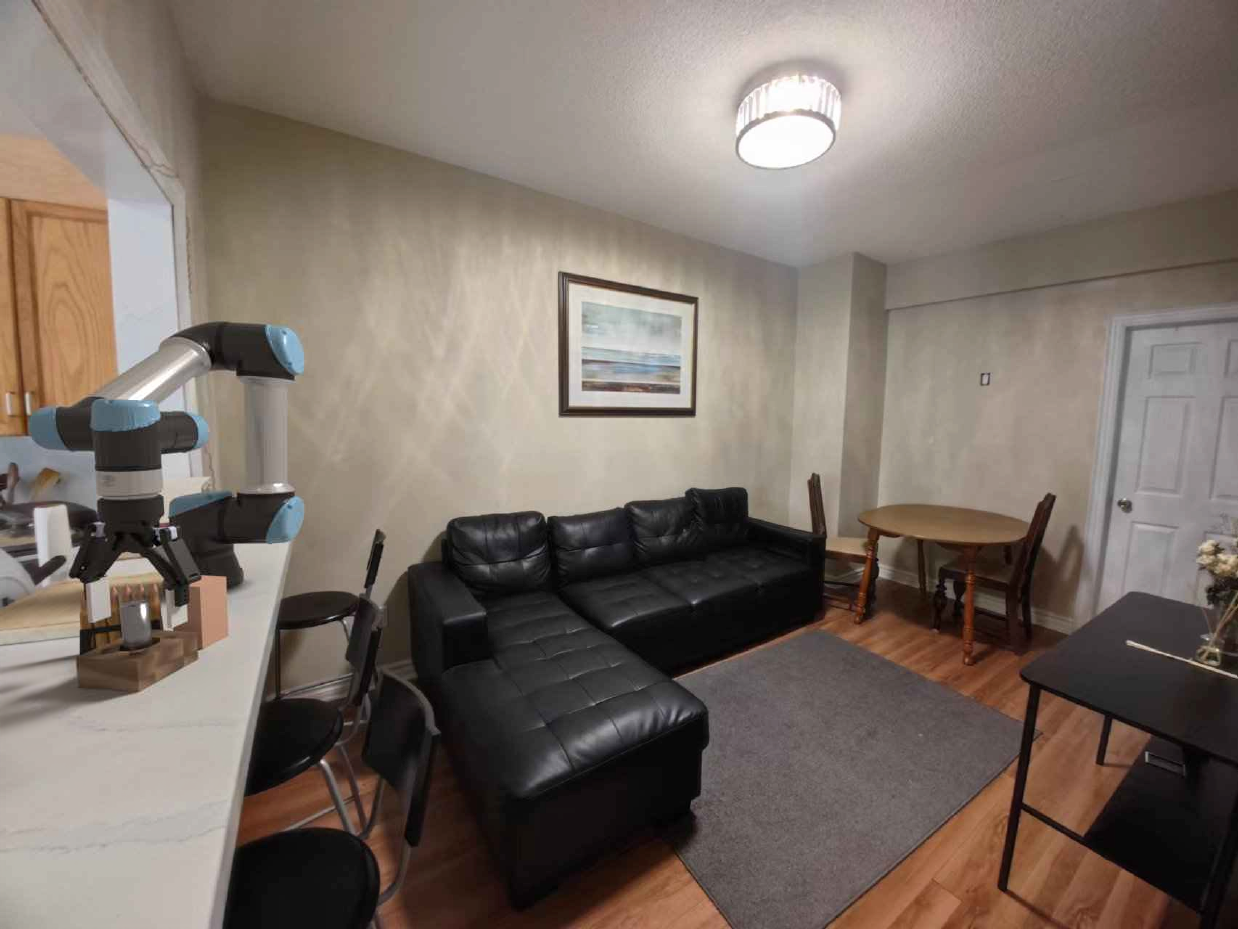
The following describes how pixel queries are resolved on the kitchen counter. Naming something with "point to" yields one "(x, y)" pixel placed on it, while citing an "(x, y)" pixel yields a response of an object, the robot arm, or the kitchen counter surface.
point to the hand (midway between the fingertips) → (138, 622)
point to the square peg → (207, 611)
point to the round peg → (136, 625)
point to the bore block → (136, 662)
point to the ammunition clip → (115, 619)
